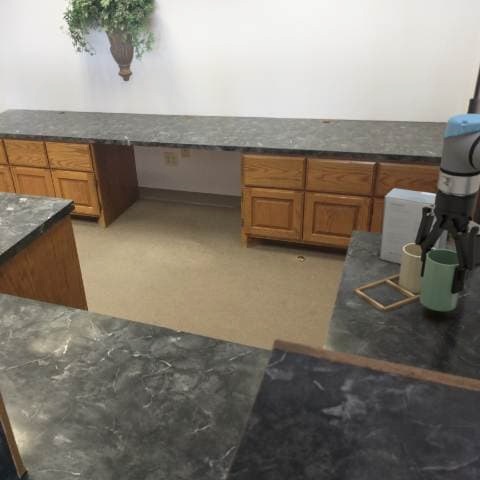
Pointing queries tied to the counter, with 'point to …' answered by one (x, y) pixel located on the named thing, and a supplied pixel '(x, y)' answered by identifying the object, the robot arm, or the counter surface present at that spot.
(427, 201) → the hard drive box
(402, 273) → the cream cup
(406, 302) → the cup holder
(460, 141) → the robot arm
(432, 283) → the green cup
